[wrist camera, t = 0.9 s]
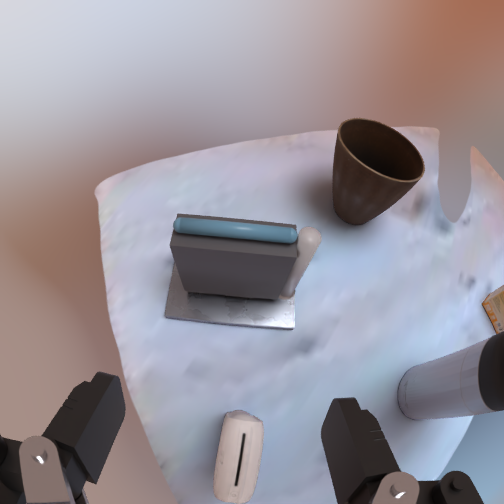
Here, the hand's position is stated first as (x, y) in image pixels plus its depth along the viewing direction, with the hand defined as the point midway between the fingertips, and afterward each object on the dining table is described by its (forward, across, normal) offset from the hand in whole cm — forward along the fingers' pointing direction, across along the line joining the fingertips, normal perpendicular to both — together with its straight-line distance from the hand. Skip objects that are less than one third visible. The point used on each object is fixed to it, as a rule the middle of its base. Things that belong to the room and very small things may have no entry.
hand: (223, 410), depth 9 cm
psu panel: (+32, 0, +8) cm, 33 cm away
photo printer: (+16, -2, +24) cm, 30 cm away
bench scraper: (+31, -1, +7) cm, 32 cm away
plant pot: (+45, -20, -4) cm, 49 cm away
